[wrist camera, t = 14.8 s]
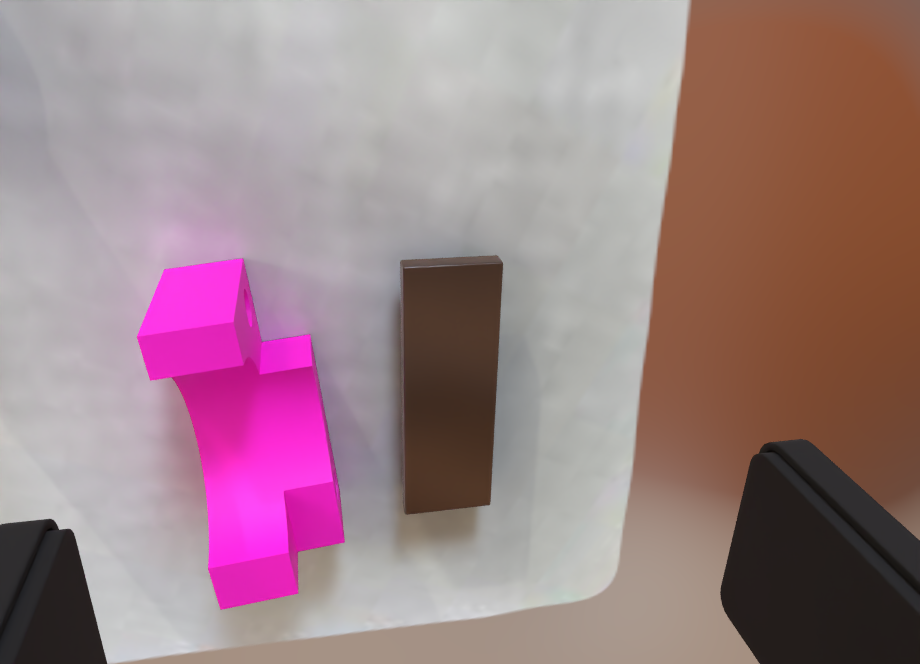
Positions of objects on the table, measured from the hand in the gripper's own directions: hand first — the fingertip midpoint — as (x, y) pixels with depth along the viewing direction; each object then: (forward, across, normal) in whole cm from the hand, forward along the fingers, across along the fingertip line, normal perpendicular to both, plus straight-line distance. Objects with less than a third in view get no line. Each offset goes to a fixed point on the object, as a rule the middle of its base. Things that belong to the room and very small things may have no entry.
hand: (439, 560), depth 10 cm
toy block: (+28, +4, +13) cm, 32 cm away
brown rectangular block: (+28, -6, +13) cm, 32 cm away
